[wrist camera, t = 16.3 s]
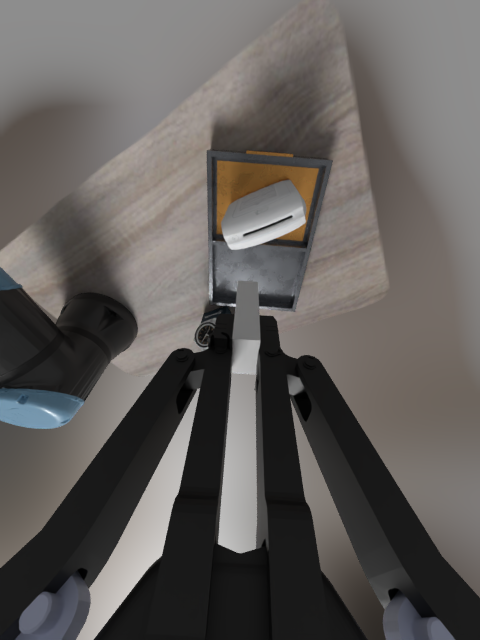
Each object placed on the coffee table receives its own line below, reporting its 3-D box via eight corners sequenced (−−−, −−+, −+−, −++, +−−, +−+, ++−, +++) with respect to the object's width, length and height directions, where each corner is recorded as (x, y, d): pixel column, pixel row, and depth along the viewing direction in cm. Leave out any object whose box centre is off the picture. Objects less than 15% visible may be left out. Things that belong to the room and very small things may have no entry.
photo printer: (235, 230, 38) (228, 261, 28) (224, 203, 36) (212, 227, 26) (299, 205, 35) (315, 230, 26) (292, 173, 33) (307, 188, 23)
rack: (211, 296, 47) (209, 304, 45) (210, 146, 33) (206, 147, 30) (292, 302, 47) (294, 311, 45) (327, 156, 33) (333, 157, 30)
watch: (222, 297, 47) (214, 333, 39) (239, 326, 52) (236, 365, 43) (198, 307, 49) (186, 343, 40) (217, 334, 53) (209, 372, 45)
